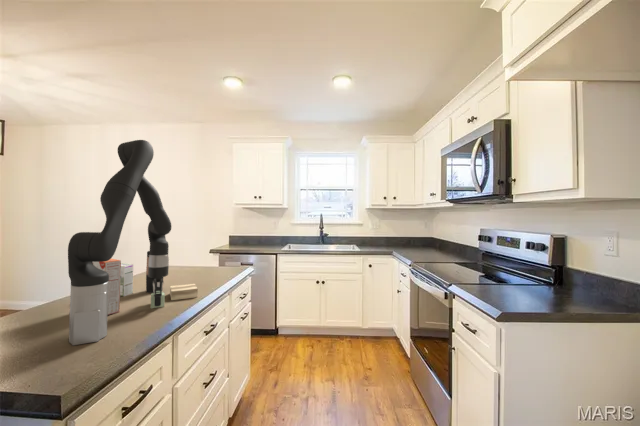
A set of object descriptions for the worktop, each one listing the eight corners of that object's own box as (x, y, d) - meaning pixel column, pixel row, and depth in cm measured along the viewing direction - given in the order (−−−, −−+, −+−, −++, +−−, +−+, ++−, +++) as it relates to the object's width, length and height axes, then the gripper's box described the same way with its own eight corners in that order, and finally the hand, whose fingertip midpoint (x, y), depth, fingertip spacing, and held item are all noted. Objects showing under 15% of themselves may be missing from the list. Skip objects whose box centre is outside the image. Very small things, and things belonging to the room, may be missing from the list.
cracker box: (84, 310, 111) (86, 257, 111) (101, 305, 116) (103, 256, 116) (102, 317, 104) (104, 261, 104) (120, 312, 109) (121, 259, 110)
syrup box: (133, 293, 135) (134, 263, 135) (123, 296, 129) (124, 265, 129) (122, 292, 135) (123, 262, 136) (112, 295, 130) (113, 265, 130)
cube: (164, 306, 117) (164, 295, 117) (150, 308, 115) (150, 296, 115) (163, 303, 121) (164, 292, 122) (150, 305, 119) (150, 293, 119)
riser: (197, 297, 131) (197, 288, 131) (171, 300, 126) (171, 291, 126) (194, 291, 141) (194, 283, 141) (170, 294, 135) (170, 285, 135)
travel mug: (146, 289, 142) (148, 250, 142) (163, 288, 145) (165, 250, 145) (144, 293, 135) (145, 252, 135) (162, 292, 138) (163, 252, 138)
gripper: (169, 267, 114) (168, 306, 114) (167, 261, 126) (166, 297, 126) (148, 268, 110) (146, 309, 110) (148, 262, 122) (147, 299, 122)
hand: (157, 302), depth 118 cm, fingers open, 8 cm apart
